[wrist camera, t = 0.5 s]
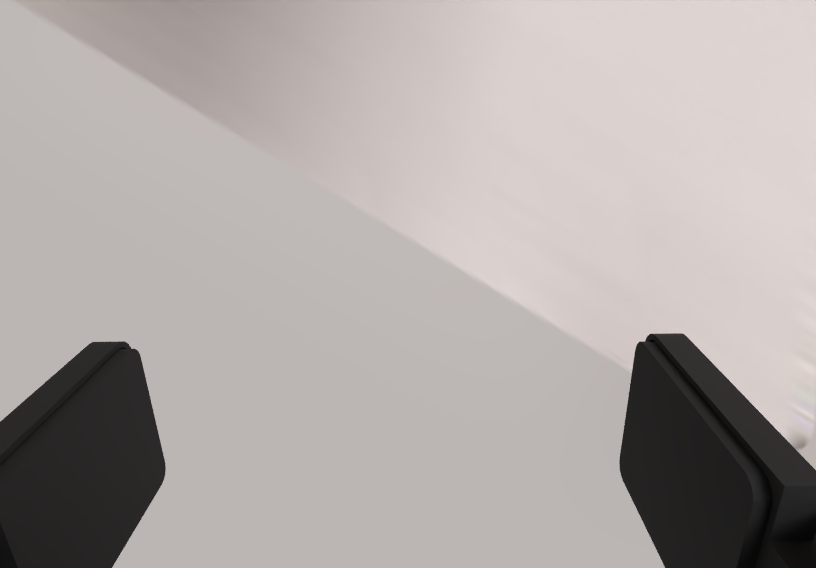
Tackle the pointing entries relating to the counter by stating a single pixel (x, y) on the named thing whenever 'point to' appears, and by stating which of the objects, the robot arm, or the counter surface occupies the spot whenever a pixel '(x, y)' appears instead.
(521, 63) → the counter surface
